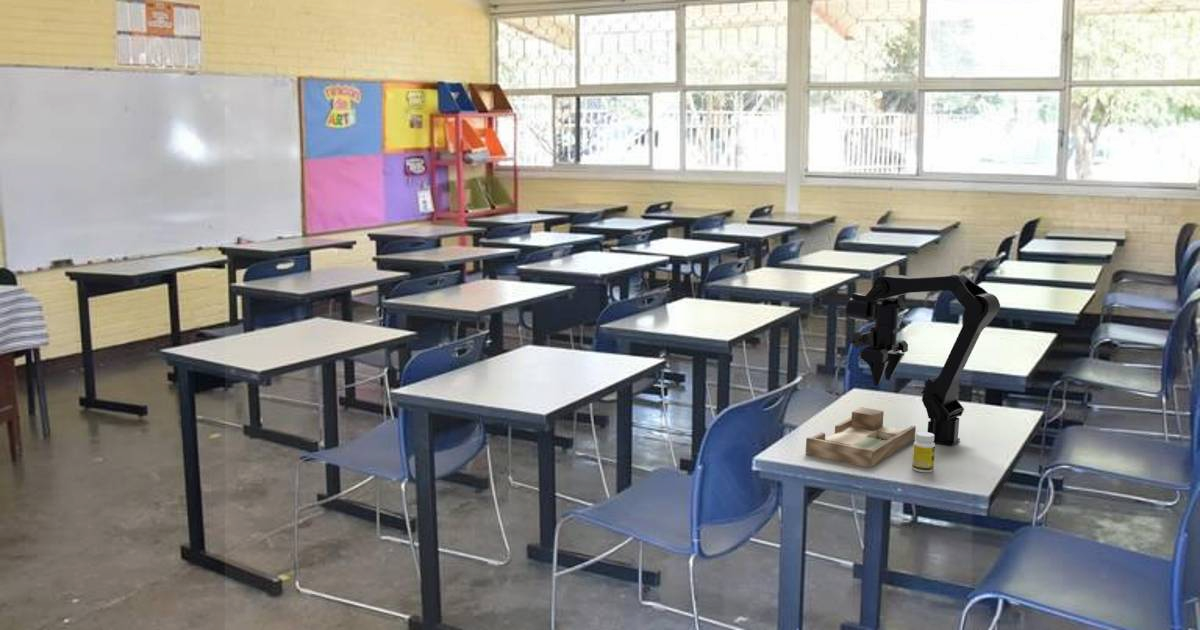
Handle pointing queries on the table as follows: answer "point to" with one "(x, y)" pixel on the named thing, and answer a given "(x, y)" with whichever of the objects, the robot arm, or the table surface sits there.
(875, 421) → the block
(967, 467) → the table surface
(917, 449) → the supplement bottle
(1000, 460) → the table surface
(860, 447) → the box
